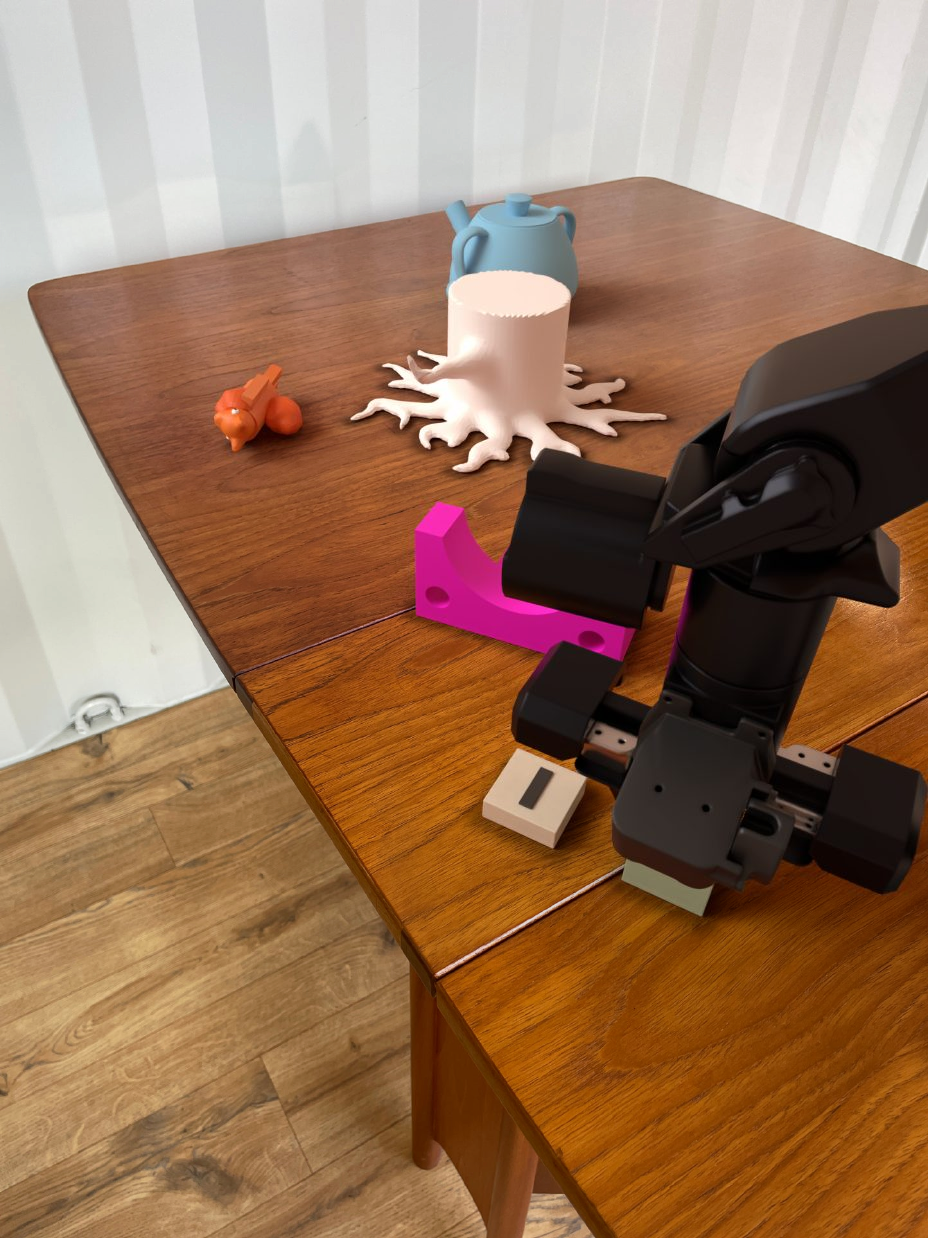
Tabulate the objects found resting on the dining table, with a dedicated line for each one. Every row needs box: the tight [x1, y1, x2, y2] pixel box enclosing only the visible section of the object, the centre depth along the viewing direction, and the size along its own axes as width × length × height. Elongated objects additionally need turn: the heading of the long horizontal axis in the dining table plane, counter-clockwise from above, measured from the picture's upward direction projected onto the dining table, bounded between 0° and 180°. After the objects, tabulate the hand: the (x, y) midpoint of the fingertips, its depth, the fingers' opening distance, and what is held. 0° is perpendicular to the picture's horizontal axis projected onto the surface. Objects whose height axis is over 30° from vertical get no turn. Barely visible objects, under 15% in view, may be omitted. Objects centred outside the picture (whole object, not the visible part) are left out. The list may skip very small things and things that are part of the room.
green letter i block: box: [621, 858, 715, 917], centre depth 47 cm, size 4×4×5 cm
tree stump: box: [350, 270, 668, 473], centre depth 86 cm, size 28×28×11 cm
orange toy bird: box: [212, 363, 303, 453], centre depth 83 cm, size 5×8×12 cm
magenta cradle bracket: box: [414, 501, 637, 662], centre depth 62 cm, size 15×6×8 cm, turn 67°
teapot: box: [444, 192, 579, 299], centre depth 106 cm, size 20×20×13 cm
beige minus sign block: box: [481, 747, 588, 850], centre depth 51 cm, size 4×4×2 cm
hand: (677, 855), depth 48 cm, fingers closed on green letter i block, 4 cm apart
